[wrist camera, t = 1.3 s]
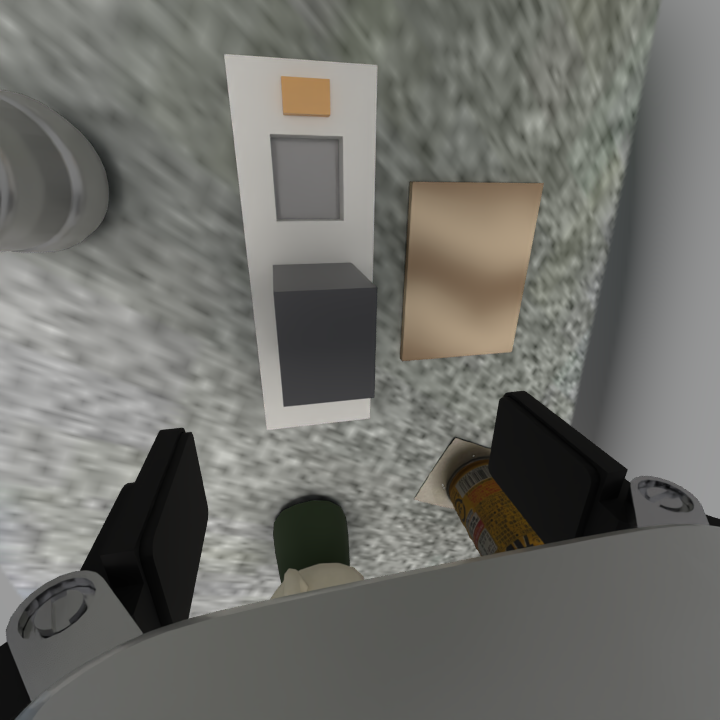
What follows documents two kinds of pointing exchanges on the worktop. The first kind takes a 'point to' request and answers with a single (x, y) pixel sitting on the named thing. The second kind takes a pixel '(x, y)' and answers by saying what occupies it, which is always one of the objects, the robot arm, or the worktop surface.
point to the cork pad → (465, 266)
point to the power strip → (302, 190)
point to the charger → (325, 332)
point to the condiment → (477, 500)
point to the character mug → (312, 548)
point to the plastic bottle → (46, 179)
